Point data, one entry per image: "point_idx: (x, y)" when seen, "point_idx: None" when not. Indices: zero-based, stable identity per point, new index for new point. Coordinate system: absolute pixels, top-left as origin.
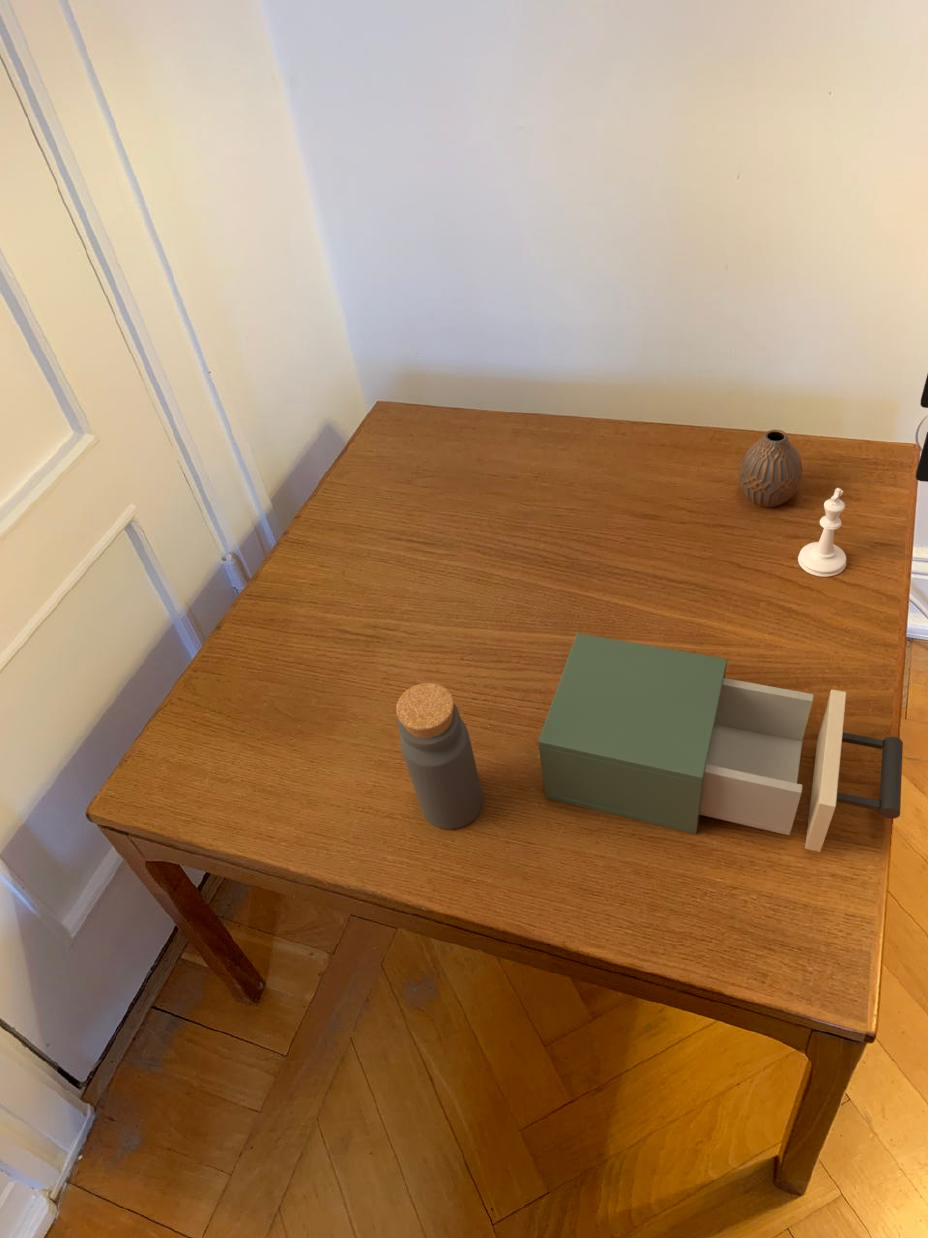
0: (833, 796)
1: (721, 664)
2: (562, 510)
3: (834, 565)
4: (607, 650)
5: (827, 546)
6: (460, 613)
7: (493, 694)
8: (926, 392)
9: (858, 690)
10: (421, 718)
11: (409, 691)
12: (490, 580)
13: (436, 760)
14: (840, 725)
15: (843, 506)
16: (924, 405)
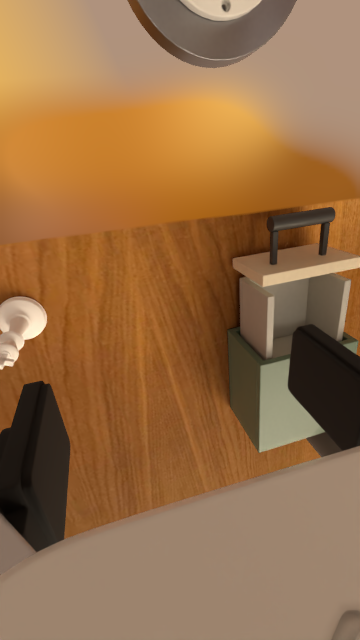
0: (354, 260)
1: (266, 367)
2: (67, 500)
3: (31, 307)
4: (270, 431)
5: (24, 325)
6: (191, 488)
7: (244, 442)
8: (67, 474)
9: (169, 249)
10: None
11: None
12: (158, 492)
13: None
14: (296, 271)
15: (4, 346)
16: (69, 444)
